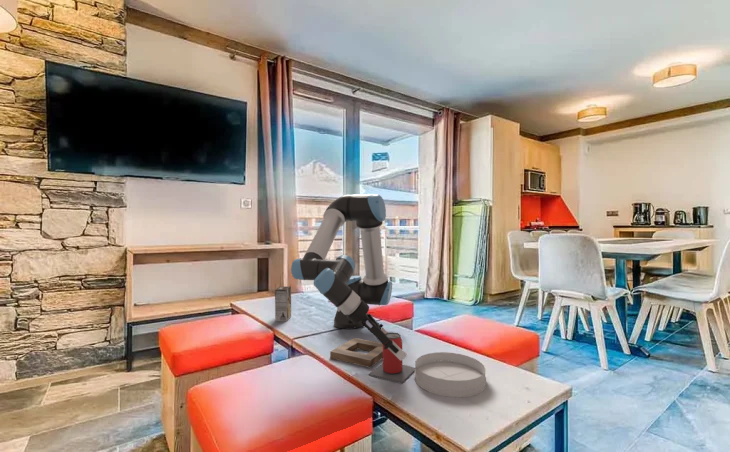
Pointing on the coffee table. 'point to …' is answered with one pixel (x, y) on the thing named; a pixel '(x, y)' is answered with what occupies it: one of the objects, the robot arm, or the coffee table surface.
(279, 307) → the coffee box
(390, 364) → the beer can
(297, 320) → the coffee table surface
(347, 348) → the pocket tray
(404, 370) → the coaster
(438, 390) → the dish
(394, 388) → the coffee table surface
